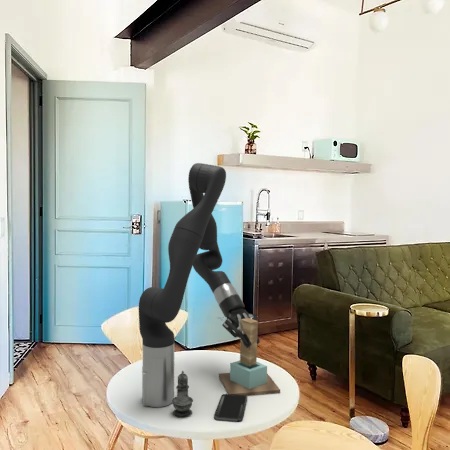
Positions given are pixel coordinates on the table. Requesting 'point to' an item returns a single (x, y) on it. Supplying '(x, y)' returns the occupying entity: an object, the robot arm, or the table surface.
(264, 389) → the base plate
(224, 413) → the phone
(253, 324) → the tall wooden block
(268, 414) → the table surface
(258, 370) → the teal open box
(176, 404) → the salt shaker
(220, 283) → the robot arm
